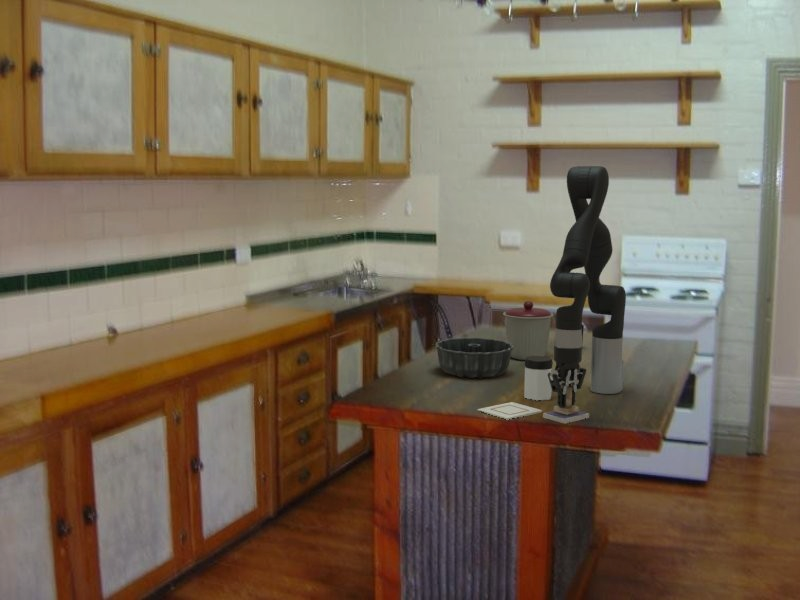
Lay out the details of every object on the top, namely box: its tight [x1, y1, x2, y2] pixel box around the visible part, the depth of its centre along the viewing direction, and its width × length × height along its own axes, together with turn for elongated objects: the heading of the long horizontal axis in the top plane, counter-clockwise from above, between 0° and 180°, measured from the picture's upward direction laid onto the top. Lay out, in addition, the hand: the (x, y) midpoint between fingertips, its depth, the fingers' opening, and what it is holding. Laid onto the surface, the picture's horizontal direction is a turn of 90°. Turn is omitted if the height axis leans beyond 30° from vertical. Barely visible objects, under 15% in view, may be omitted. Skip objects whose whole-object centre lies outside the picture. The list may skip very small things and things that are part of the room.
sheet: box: [476, 401, 543, 421], centre depth 264 cm, size 14×12×1 cm
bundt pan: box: [435, 337, 514, 379], centre depth 314 cm, size 26×26×10 cm
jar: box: [523, 356, 554, 402], centre depth 281 cm, size 9×8×12 cm
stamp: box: [553, 386, 580, 416], centre depth 258 cm, size 5×5×7 cm
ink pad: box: [542, 410, 590, 424], centre depth 258 cm, size 10×8×1 cm
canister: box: [502, 300, 554, 361], centre depth 339 cm, size 18×18×21 cm
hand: (566, 405), depth 258 cm, fingers closed on stamp, 3 cm apart
